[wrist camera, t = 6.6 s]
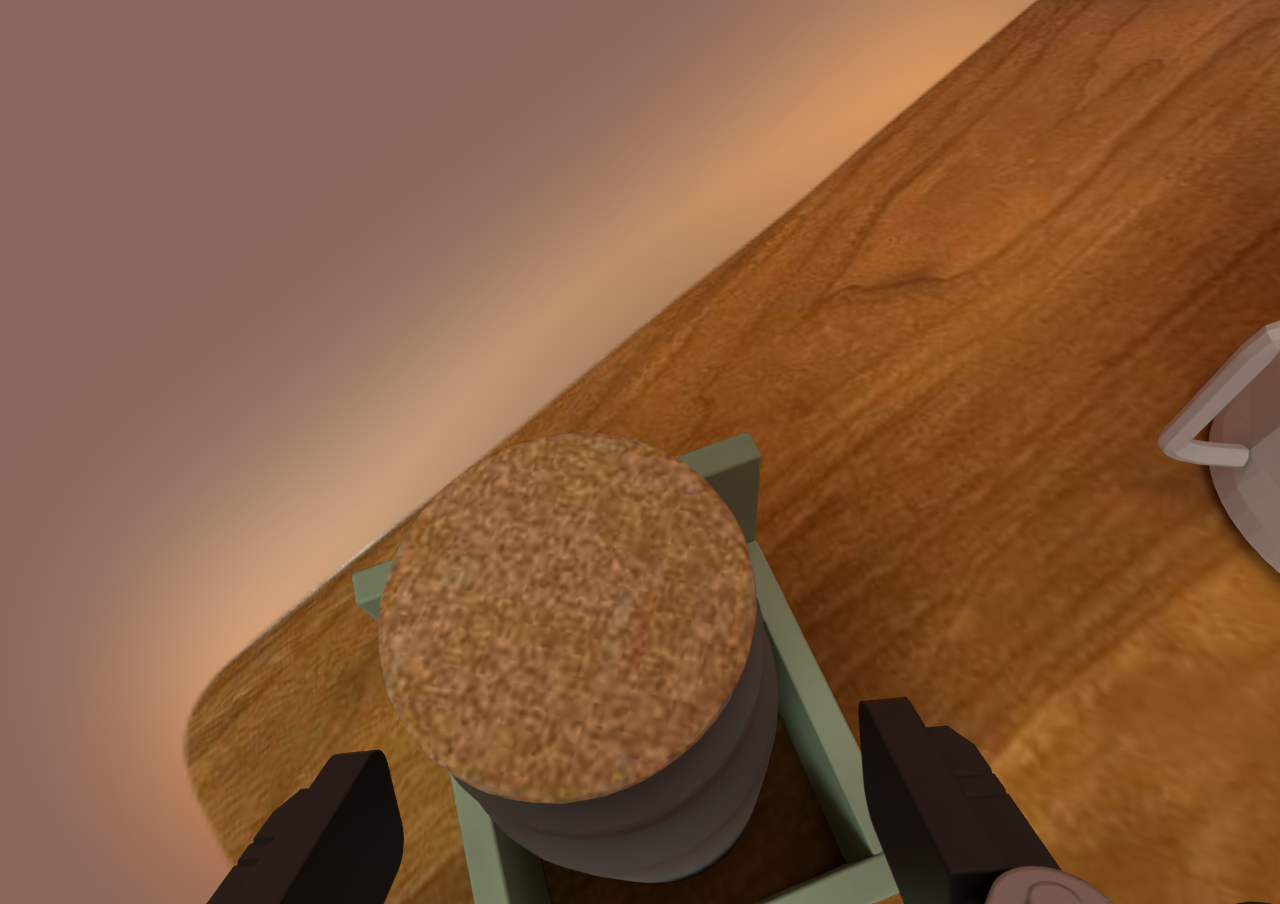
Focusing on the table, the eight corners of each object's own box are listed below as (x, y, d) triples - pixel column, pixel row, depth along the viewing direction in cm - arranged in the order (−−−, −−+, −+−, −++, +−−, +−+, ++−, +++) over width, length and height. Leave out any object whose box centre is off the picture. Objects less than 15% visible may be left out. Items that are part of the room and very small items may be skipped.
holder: (550, 1030, 18) (425, 1124, 11) (472, 677, 24) (349, 572, 16) (886, 884, 19) (989, 876, 12) (742, 574, 24) (748, 428, 17)
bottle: (632, 637, 24) (522, 340, 11) (793, 738, 22) (888, 513, 9) (524, 803, 21) (227, 667, 9) (692, 933, 19) (626, 1008, 7)
